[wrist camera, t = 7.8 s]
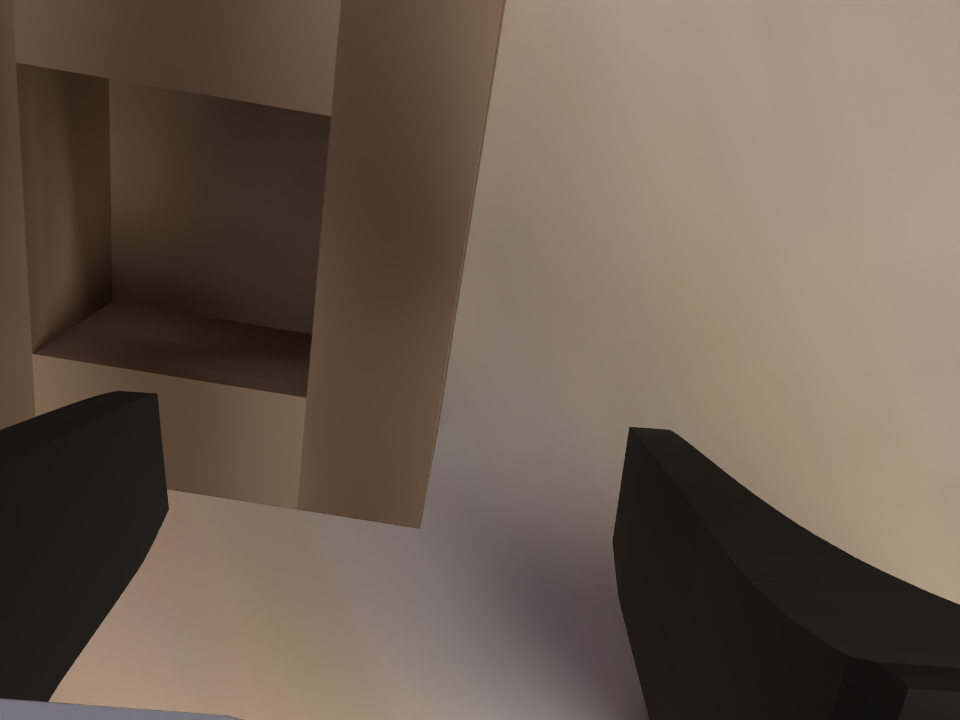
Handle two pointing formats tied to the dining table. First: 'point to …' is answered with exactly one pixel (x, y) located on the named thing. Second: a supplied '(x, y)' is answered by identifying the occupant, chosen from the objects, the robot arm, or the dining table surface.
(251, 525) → the dining table surface
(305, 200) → the pocket block
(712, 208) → the dining table surface
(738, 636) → the robot arm
